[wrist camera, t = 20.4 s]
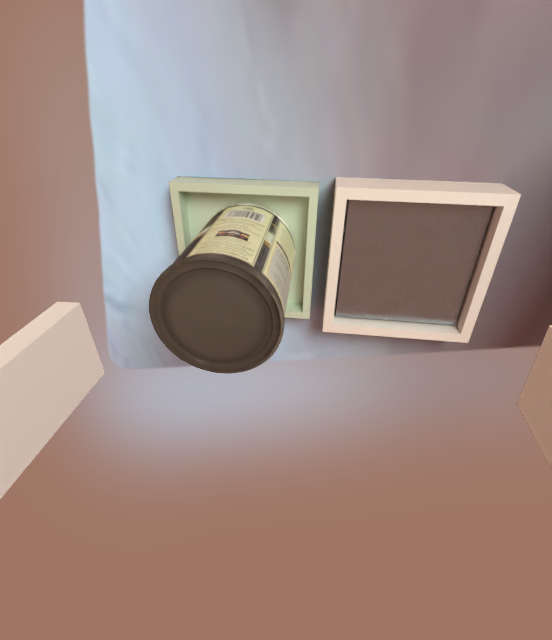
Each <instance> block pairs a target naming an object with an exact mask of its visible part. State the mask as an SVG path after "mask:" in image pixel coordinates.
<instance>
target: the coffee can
mask: <svg viewBox="0 0 552 640" xmlns="http://www.w3.org/2000/svg"><path fill="white" fill-rule="evenodd" d="M295 260H296V243H295V239H294V235H293V233H292V231H291V230H290V228H289V226H288V225H287V223H286V222H285V221H284V219H283V218H282V217H281V216H280V215H278V214H277V213H276V212H274V211H273V210H271V209H269V208H268V207H266V206H263V205H259V204H255V203H249V202H241V203H235V204H231V205H227V206H225V207H224V208H222V209H220V210H219V211H217V212H216V213H215V214H214V215H213V216H212V217H211V218H210V220H209V221H208V223H207V224H206V225H205V227H204V228H203V229H202V230H201V231H200V233H199V234H198V235H197V236H196V237H195V238H194V240H193V241H192V242H191V243H190V244H189V246H188V247H187V248H186V249H185V250H184V251H183V253H182V254H181V255H180V256H179V257H178V258H177V260H176V261H175V262H174V263H173V264H172V265H171V266H169V267H168V268H167V269H166V270H165V271H164V272H163V273H162V274H161V275H160V276H159V277H158V279H157V280H156V282H155V284H154V286H153V288H152V291H151V295H150V300H149V313H150V318H151V321H152V324H153V327H154V329H155V331H156V333H157V334H158V336H159V338H160V339H161V341H162V342H163V343H164V344H165V346H166V347H167V348H168V349H169V350H170V351H171V352H173V353H174V354H175V355H176V356H177V357H179V358H180V359H182V360H183V361H185V362H187V363H189V364H191V365H193V366H195V367H197V368H200V369H203V370H207V371H211V372H216V373H237V372H243V371H247V370H250V369H253V368H255V367H257V366H259V365H261V364H262V363H264V362H265V361H267V360H268V359H269V358H270V357H271V356H272V355H273V354H274V352H275V351H276V349H277V348H278V346H279V344H280V342H281V339H282V336H283V331H284V316H285V310H286V305H287V299H288V294H289V288H290V283H291V277H292V272H293V267H294V264H295Z"/></svg>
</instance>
